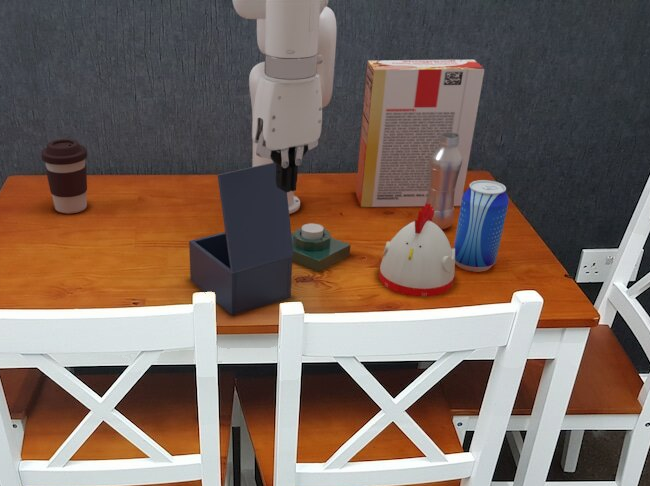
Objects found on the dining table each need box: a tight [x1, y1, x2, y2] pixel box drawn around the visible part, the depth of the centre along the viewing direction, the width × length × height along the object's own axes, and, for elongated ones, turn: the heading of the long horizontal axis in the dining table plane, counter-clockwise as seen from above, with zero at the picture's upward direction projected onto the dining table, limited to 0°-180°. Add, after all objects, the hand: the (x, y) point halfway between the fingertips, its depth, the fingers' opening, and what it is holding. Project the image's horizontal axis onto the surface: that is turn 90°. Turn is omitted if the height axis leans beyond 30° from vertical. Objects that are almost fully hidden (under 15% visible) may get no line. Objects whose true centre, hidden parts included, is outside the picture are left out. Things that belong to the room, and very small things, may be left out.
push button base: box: [291, 227, 351, 273], centre depth 158 cm, size 12×10×4 cm
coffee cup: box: [40, 138, 88, 215], centre depth 175 cm, size 10×10×15 cm
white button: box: [301, 222, 325, 240], centre depth 156 cm, size 4×4×2 cm
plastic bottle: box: [426, 132, 462, 230], centre depth 164 cm, size 6×7×20 cm
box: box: [188, 231, 293, 317], centre depth 145 cm, size 16×13×8 cm
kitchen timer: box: [378, 203, 456, 298], centre depth 146 cm, size 14×14×15 cm
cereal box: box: [355, 59, 485, 208], centre depth 174 cm, size 23×8×30 cm, turn 91°
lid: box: [216, 162, 294, 272], centre depth 134 cm, size 16×13×1 cm
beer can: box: [453, 179, 510, 273], centre depth 151 cm, size 8×8×16 cm
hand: (286, 188), depth 123 cm, fingers closed
